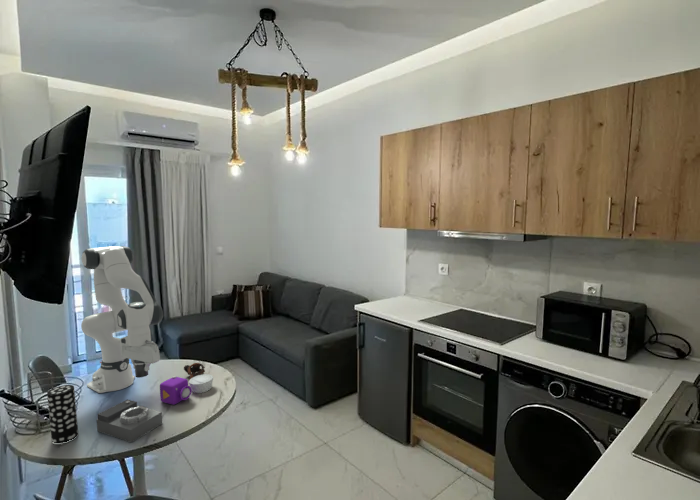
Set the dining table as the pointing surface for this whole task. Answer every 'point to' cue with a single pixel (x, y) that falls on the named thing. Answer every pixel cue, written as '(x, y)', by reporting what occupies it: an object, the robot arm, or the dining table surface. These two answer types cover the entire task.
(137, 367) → the lens
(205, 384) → the ramekin
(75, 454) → the dining table surface
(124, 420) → the camera body
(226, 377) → the dining table surface
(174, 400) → the toy camera
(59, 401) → the spotted tube
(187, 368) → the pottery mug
